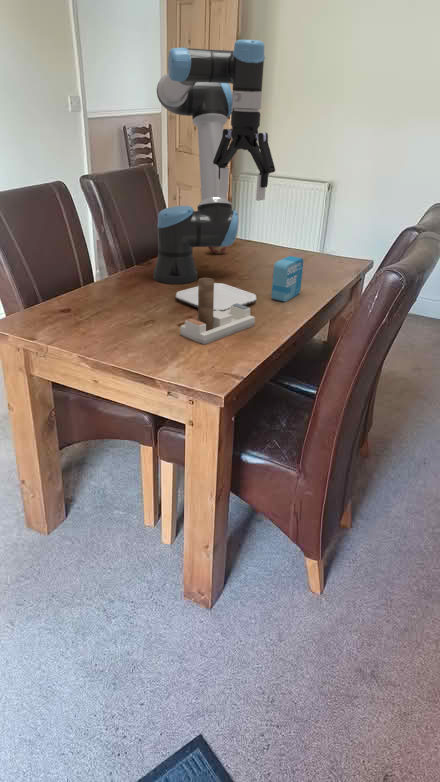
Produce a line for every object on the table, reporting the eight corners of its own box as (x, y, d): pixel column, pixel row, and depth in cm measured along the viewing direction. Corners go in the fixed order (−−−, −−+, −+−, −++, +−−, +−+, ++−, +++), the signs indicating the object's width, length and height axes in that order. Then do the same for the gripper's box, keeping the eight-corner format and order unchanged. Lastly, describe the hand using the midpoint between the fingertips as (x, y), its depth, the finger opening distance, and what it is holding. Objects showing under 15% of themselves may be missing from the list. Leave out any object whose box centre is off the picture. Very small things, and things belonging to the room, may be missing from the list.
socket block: (180, 334, 151) (180, 317, 149) (230, 316, 164) (231, 301, 162) (204, 344, 145) (204, 327, 143) (254, 325, 159) (255, 309, 156)
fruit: (206, 255, 224) (206, 234, 220) (209, 250, 230) (210, 230, 227) (225, 256, 223) (226, 236, 219) (228, 252, 229) (229, 232, 226)
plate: (216, 287, 189) (216, 280, 188) (262, 303, 176) (263, 296, 175) (169, 300, 176) (169, 293, 175) (215, 318, 163) (215, 311, 162)
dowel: (194, 331, 151) (195, 279, 144) (205, 327, 153) (206, 276, 147) (205, 335, 148) (206, 283, 142) (216, 331, 151) (217, 280, 145)
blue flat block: (283, 303, 176) (287, 265, 171) (270, 300, 178) (273, 262, 173) (300, 293, 185) (304, 257, 180) (288, 290, 187) (291, 254, 182)
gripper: (201, 107, 151) (200, 190, 161) (274, 113, 136) (267, 204, 146) (221, 107, 156) (218, 188, 166) (293, 113, 141) (285, 201, 151)
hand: (241, 196), depth 156 cm, fingers open, 13 cm apart
